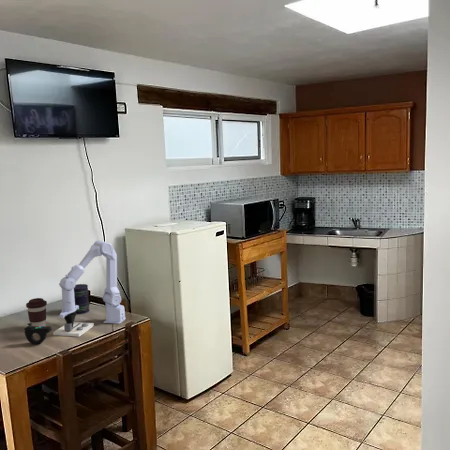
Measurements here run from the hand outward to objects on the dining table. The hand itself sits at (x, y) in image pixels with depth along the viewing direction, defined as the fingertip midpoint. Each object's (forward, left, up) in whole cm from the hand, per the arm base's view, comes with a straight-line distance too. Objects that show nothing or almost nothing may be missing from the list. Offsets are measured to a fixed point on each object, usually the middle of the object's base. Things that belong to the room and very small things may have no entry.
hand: (70, 327), depth 231 cm
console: (0, -3, -3) cm, 4 cm away
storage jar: (+12, -31, -3) cm, 33 cm away
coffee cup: (+21, -4, -3) cm, 22 cm away
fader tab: (0, +2, -1) cm, 2 cm away
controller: (+8, +15, -3) cm, 17 cm away
